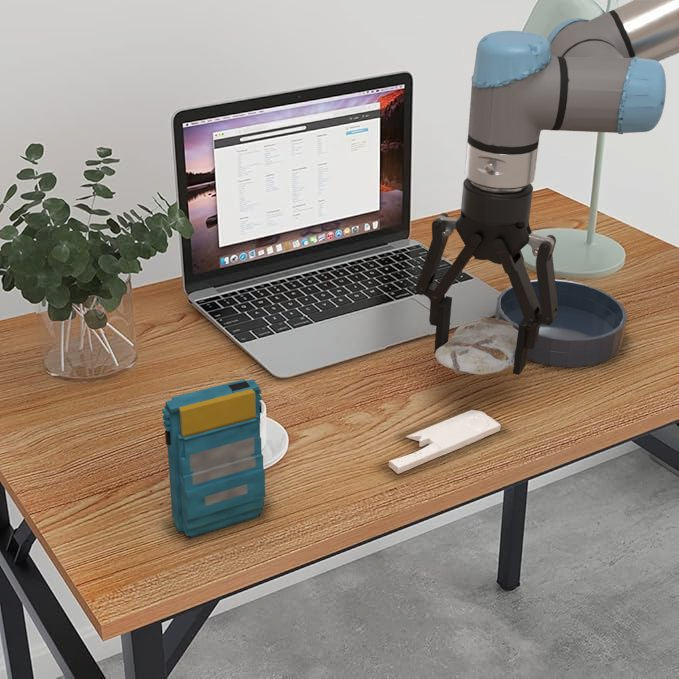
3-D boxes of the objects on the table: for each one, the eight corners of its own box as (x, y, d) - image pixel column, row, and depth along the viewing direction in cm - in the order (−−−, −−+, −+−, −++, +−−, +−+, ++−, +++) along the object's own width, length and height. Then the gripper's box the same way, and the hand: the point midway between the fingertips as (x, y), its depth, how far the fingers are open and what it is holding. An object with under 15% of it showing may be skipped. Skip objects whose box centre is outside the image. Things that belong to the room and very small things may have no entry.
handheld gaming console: (255, 495, 112) (253, 374, 105) (272, 517, 109) (270, 395, 102) (167, 521, 108) (158, 398, 101) (182, 546, 105) (174, 420, 98)
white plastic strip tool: (370, 451, 119) (370, 443, 119) (472, 411, 127) (472, 403, 126) (397, 474, 116) (398, 465, 115) (500, 431, 123) (501, 423, 123)
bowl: (633, 321, 147) (638, 295, 145) (605, 379, 134) (609, 352, 132) (515, 294, 153) (518, 269, 151) (476, 347, 140) (479, 321, 138)
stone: (502, 394, 120) (505, 369, 118) (426, 375, 123) (428, 350, 121) (528, 345, 130) (531, 321, 128) (456, 329, 133) (459, 306, 131)
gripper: (392, 173, 116) (382, 351, 127) (589, 212, 108) (561, 397, 119) (417, 152, 122) (406, 324, 133) (607, 187, 114) (578, 366, 125)
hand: (479, 358), depth 126 cm, fingers closed on stone, 9 cm apart
